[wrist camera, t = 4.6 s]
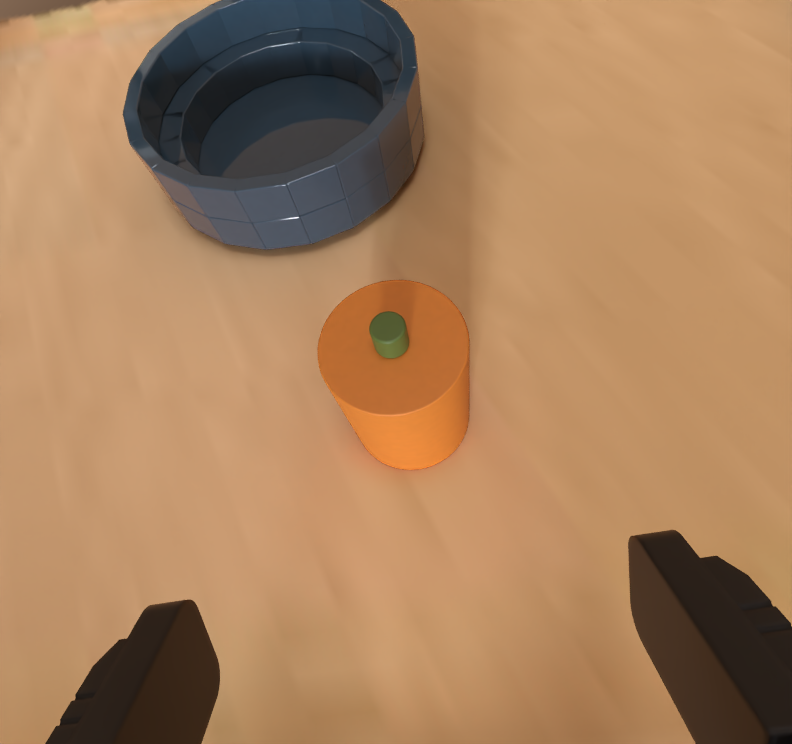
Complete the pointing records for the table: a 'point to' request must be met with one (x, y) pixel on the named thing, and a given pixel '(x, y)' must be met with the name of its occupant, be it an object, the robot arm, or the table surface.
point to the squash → (399, 371)
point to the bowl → (279, 117)
